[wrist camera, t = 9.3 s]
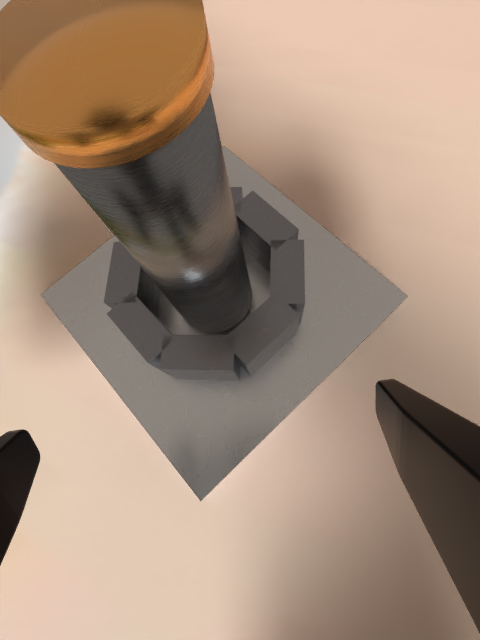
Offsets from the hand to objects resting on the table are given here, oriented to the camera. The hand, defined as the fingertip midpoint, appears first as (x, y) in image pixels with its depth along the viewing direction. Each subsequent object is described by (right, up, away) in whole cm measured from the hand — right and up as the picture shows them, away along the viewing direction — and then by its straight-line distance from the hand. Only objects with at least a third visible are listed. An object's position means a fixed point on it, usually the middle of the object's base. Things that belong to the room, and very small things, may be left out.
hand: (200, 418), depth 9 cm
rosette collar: (0, +4, +10) cm, 11 cm away
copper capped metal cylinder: (0, +4, +10) cm, 11 cm away
